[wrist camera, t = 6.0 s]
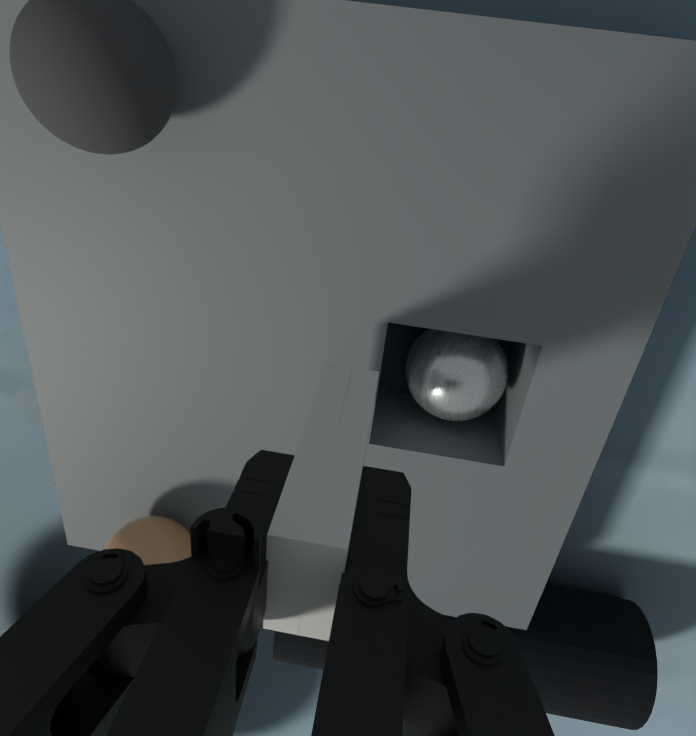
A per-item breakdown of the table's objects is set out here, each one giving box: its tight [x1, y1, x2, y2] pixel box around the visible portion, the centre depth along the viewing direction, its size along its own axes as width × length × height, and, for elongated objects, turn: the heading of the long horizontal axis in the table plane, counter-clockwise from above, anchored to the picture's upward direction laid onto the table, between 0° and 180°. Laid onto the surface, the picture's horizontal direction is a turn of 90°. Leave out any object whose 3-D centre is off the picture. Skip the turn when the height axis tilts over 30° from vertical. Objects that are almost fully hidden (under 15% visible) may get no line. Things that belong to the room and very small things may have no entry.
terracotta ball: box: [104, 515, 191, 565], centre depth 20 cm, size 3×3×3 cm
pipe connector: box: [273, 585, 657, 736], centre depth 26 cm, size 12×5×15 cm
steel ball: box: [406, 329, 508, 421], centre depth 19 cm, size 3×3×3 cm
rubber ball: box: [9, 0, 177, 155], centre depth 13 cm, size 3×3×3 cm
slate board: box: [0, 0, 696, 630], centre depth 19 cm, size 19×20×4 cm
